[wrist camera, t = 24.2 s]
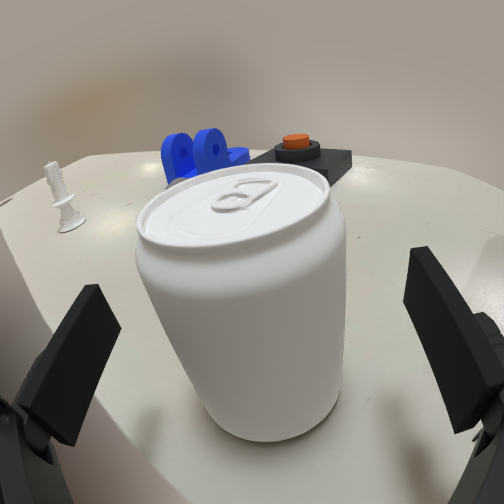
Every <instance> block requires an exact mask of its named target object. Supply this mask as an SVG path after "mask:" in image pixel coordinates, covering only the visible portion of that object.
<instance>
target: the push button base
mask: <svg viewBox="0 0 504 504" xmlns="http://www.w3.org/2000/svg"><path fill="white" fill-rule="evenodd" d="M309 141H310V146H309V147H305V148H300V149H285V148H284V145H283V143H280V144H279V145H276V146H275V147H274V149H272V150H270V151H268V152H266V153H264V154H262V155H260V156H258V157H256V158H254V159H252V160H250V161H249V162H247V163H245V164H243V165H248V164H261V163H281V164H291V165H297V166H302V167H306V168H309V169H312V170H314V171H316V172H318V173H320V174H321V175H322V176H324V177H325V178H326V180H327V181H328V183H329V186H330V187H331V186H332V185H333V184H334V183H335V182H336V181H337V180H338V179H339V178H340V177H341V176H342V175H343V174H345V173H346V172H347V171H348V170H349V169H350V168H351V167H352V155H351V150H337V149H320V144H319V142H317V141H313V140H309Z"/></svg>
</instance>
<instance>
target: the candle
mask: <svg viewBox="0 0 504 504" xmlns="http://www.w3.org/2000/svg"><path fill="white" fill-rule="evenodd" d="M48 162H49V161H48ZM44 172H45V175H46V178H47V183H48V185H49V186H50V188H51V191H52V193H53V196H54V199H55V202H54V203H53V204H52V205H51V207H55V208H61V220H60V225H61V227H60V229H59V232H67V231H70V230H72V229H74V228H76V227H78V226H80V225H81V224H82V223H83V222H84V221H85V220H86V217H84V216H81V215H80V213H79V212H76V211H75V210H74V209H73V208H72V207H71V206H70V202H71V201H72V199H73V198H74V196H75V194H70V195H68V192H67V189H66V187H65V184H64V181H63V178H62V172H61V170H60V168H59V165H58V163H57V161H55V162H52V163H50V162H49V164H47V165H46V166H44Z"/></svg>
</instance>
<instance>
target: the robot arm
mask: <svg viewBox="0 0 504 504" xmlns="http://www.w3.org/2000/svg"><path fill="white" fill-rule="evenodd" d="M403 303H404V305H405V307H406V309H407V311H408V314H409V316H410V318H411V320H412V322H413V325H414V327H415V329H416V332H417V334H418V336H419V339H420V341H421V343H422V346H423V348H424V351H425V353H426V355H427V358H428V360H429V363H430V365H431V368H432V371H433V373H434V376H435V378H436V381H437V384H438V386H439V389H440V392H441V395H442V398H443V400H444V403H445V406H446V409H447V412H448V415H449V418H450V421H451V424H452V427H453V430H454V434H457V433H460V432H463V431H466V430H468V429H471V428H474V427H475V425H476V424H477V423H478V422H479V421H480V419H481V421H482V423H483V428H482V429H481V430H480V431H479V432H478V433H477V434H476V436H475V437H474V439H473V440H472V441H473V442H475V441H476V440H477V439H478V440H477V442H476V445H475V447H474V450H473V452H472V455H471V457H470V459H469V462H468V464H467V466H466V468H465V471H464V473H463V475H462V477H461V479H460V481H459V483H458V485H457V487H456V489H455V491H454V493H453V495H452V497H451V499H450V501H449V503H448V504H504V336H503V335H502V334H501V333H500V332H501V331H500V330H499V328H498V327H497V325H496V323H495V322H494V320H493V319H491V318H490V317H489V316H488V315H486V314H485V313H484V312H480V313H476V314H473V313H472V311H471V310H470V308H469V306H468V305H467V303H466V302H465V300H464V299H463V297H462V295H461V294H460V292H459V291H458V289H457V288H456V286H455V285H454V283H453V282H452V280H451V279H450V277H449V276H448V274H447V273H446V271H445V270H444V269H443V267H442V266H441V264H440V263H439V261H438V260H437V259H436V257H435V256H434V255H433V253H432V252H431V250H430V249H429V248H428V246H425V247H417V248H411V250H410V258H409V266H408V273H407V280H406V287H405V293H404V299H403ZM121 329H122V328H121V326H120V325H119V323H118V321H117V319H116V317H115V316H114V314H113V312H112V310H111V308H110V306H109V304H108V302H107V300H106V299H105V297H104V295H103V293H102V291H101V289H100V287H99V285H98V284H91V285H85V286H84V288H83V289H82V291H81V292H80V294H79V295H78V297H77V298H76V300H75V301H74V303H73V304H72V306H71V307H70V309H69V311H68V312H67V314H66V315H65V317H64V319H63V320H62V322H61V323H60V325H59V327H58V328H57V330H56V332H55V333H54V335H53V337H52V339H51V340H50V342H49V344H48V345H47V347H46V349H45V350H44V351H43V352H42V353H41V354H40V355H39V356H38V357H37V358H36V359H35V361H34V363H33V365H32V367H31V370H29V372H28V374H27V378H25V380H24V381H23V383H22V385H21V387H20V390H19V391H18V393H17V395H16V397H15V399H14V401H13V403H12V405H10V404H9V403H8V402H6V400H5V399H4V398H3V397H2V396H1V395H0V504H74V502H73V500H72V497H71V495H70V492H69V490H68V487H67V484H66V482H65V479H64V476H63V473H62V470H61V467H60V464H59V461H58V458H57V455H56V451H55V448H54V445H53V443H52V442H50V438H51V436H52V437H54V438H55V439H56V440H57V441H58V442H60V443H62V444H65V445H69V446H73V447H74V446H75V443H76V441H77V438H78V435H79V432H80V429H81V427H82V424H83V421H84V419H85V416H86V413H87V410H88V408H89V405H90V403H91V400H92V398H93V395H94V392H95V390H96V387H97V385H98V382H99V380H100V378H101V375H102V373H103V370H104V368H105V365H106V363H107V361H108V358H109V356H110V354H111V351H112V349H113V347H114V345H115V342H116V340H117V338H118V335H119V333H120V331H121Z"/></svg>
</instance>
